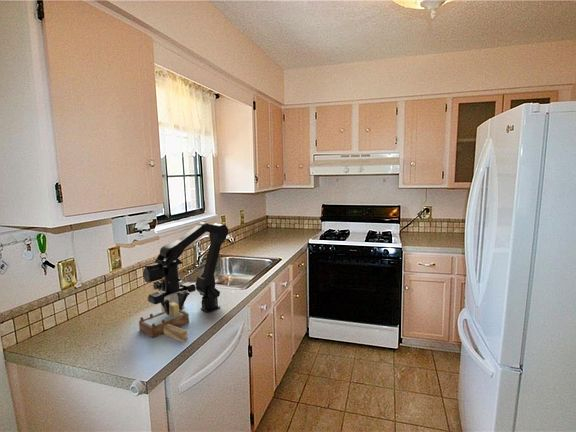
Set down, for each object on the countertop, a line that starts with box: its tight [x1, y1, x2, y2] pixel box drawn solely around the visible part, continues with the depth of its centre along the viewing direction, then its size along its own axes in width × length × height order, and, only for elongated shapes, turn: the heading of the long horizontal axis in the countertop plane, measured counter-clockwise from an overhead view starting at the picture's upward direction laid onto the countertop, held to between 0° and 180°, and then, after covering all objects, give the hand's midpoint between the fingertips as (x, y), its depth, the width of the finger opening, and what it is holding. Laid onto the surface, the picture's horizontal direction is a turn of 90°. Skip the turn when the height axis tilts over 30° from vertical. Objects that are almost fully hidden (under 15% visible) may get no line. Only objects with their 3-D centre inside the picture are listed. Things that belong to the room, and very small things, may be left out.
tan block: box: [163, 324, 189, 343], centre depth 126 cm, size 2×11×4 cm, turn 57°
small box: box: [159, 280, 185, 313], centre depth 149 cm, size 8×6×13 cm
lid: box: [143, 302, 183, 326], centre depth 133 cm, size 14×8×5 cm, turn 140°
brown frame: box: [138, 309, 190, 339], centre depth 134 cm, size 16×10×5 cm, turn 140°
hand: (174, 312), depth 137 cm, fingers open, 5 cm apart
